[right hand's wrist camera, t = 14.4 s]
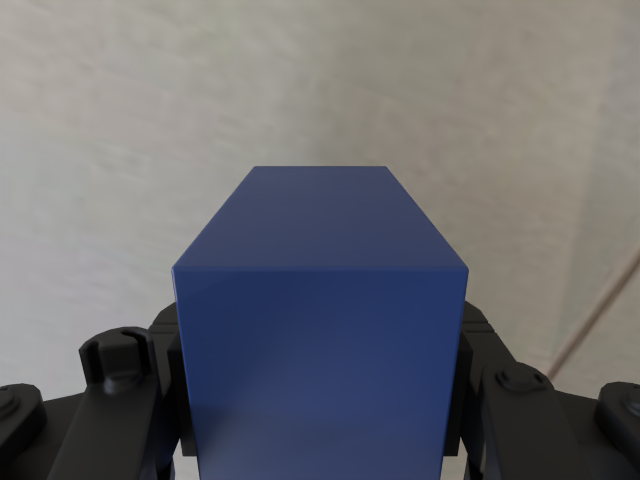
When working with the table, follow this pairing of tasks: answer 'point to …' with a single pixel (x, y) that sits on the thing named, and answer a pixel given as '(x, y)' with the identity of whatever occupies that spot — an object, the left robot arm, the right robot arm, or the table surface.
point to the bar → (320, 329)
